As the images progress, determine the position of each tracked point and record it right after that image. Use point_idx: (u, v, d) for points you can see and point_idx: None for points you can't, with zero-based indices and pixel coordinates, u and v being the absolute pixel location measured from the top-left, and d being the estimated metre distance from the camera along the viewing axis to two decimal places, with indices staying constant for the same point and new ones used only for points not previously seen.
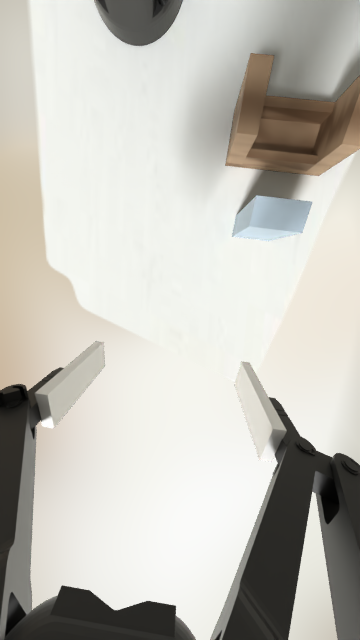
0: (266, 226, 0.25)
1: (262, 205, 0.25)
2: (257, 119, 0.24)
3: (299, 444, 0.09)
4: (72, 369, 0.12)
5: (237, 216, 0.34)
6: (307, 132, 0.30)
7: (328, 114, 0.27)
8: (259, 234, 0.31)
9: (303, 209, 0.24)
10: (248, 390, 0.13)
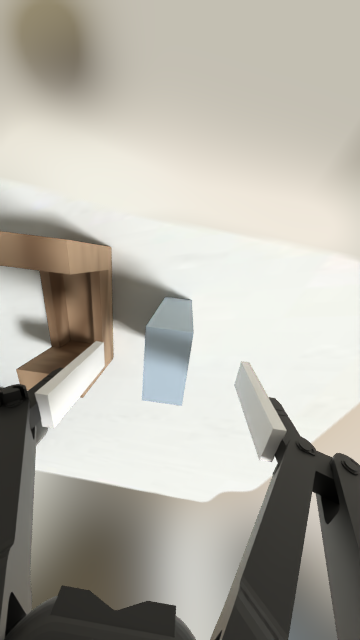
0: (182, 384, 0.16)
1: (153, 392, 0.16)
2: None
3: (299, 444, 0.09)
4: (72, 369, 0.12)
5: None
6: (71, 278, 0.24)
7: None
8: None
9: (157, 337, 0.14)
10: (248, 390, 0.13)
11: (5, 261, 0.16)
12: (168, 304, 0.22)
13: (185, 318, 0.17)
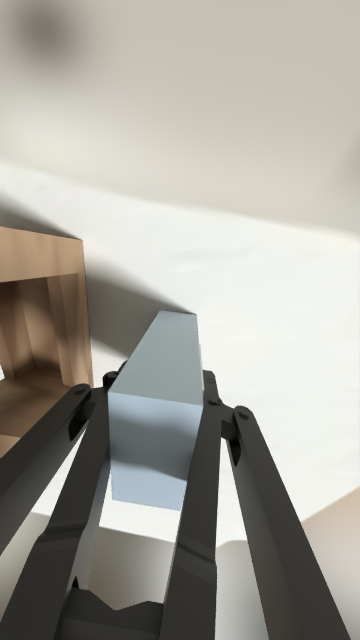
0: (180, 483, 0.09)
1: (131, 491, 0.09)
2: (8, 439, 0.13)
3: (210, 400, 0.11)
4: None
5: None
6: (29, 284, 0.17)
7: None
8: None
9: (132, 411, 0.07)
10: None
11: None
12: (162, 324, 0.14)
13: (187, 358, 0.10)
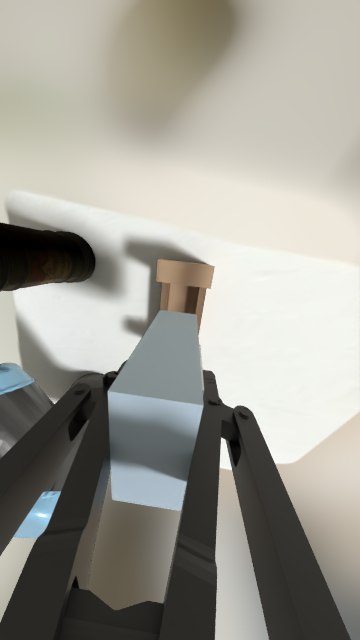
0: (180, 483, 0.09)
1: (131, 491, 0.09)
2: None
3: (210, 400, 0.11)
4: None
5: None
6: (176, 287, 0.32)
7: None
8: None
9: (132, 411, 0.07)
10: None
11: (167, 280, 0.24)
12: (161, 324, 0.14)
13: (188, 358, 0.10)
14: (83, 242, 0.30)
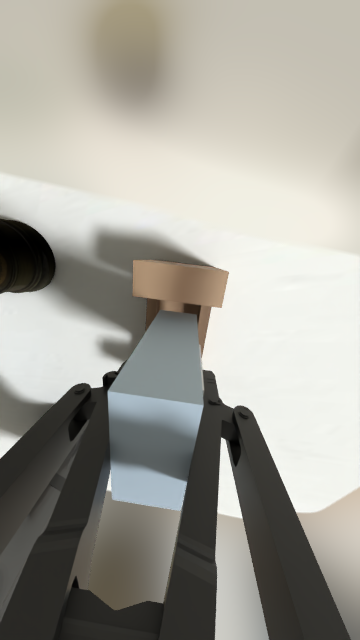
0: (180, 483, 0.09)
1: (131, 491, 0.09)
2: None
3: (210, 400, 0.11)
4: None
5: None
6: None
7: None
8: None
9: (132, 411, 0.07)
10: None
11: (151, 293, 0.15)
12: (161, 324, 0.14)
13: (188, 357, 0.10)
14: (34, 235, 0.21)
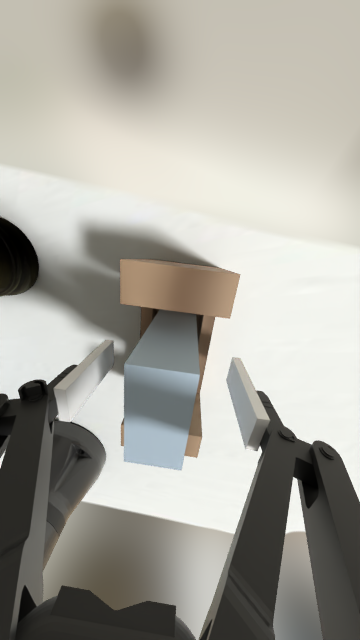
0: (181, 444, 0.11)
1: (140, 453, 0.11)
2: None
3: (281, 432, 0.09)
4: (86, 366, 0.12)
5: None
6: None
7: None
8: None
9: (143, 380, 0.09)
10: (237, 384, 0.14)
11: (143, 301, 0.12)
12: (164, 316, 0.16)
13: (187, 342, 0.12)
14: (12, 231, 0.18)
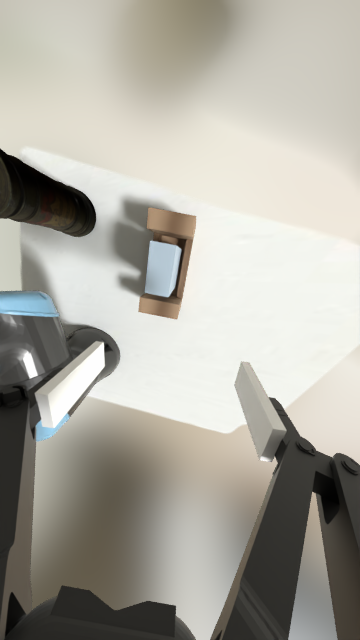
0: (168, 281, 0.27)
1: (152, 287, 0.27)
2: (170, 305, 0.32)
3: (299, 444, 0.09)
4: (72, 369, 0.12)
5: None
6: None
7: (160, 235, 0.34)
8: (175, 272, 0.32)
9: (156, 248, 0.25)
10: (248, 390, 0.13)
11: (156, 227, 0.28)
12: None
13: None
14: (86, 198, 0.34)
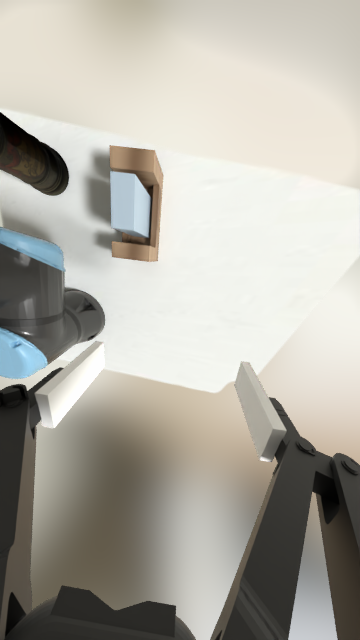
0: (132, 213, 0.28)
1: (117, 220, 0.29)
2: (141, 247, 0.34)
3: (299, 444, 0.09)
4: (72, 369, 0.12)
5: (133, 235, 0.39)
6: None
7: None
8: (143, 214, 0.33)
9: (116, 179, 0.27)
10: (248, 390, 0.13)
11: (119, 165, 0.30)
12: None
13: None
14: (57, 154, 0.36)
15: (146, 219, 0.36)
